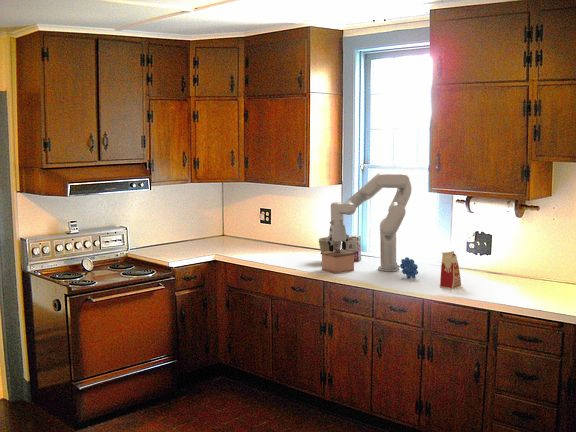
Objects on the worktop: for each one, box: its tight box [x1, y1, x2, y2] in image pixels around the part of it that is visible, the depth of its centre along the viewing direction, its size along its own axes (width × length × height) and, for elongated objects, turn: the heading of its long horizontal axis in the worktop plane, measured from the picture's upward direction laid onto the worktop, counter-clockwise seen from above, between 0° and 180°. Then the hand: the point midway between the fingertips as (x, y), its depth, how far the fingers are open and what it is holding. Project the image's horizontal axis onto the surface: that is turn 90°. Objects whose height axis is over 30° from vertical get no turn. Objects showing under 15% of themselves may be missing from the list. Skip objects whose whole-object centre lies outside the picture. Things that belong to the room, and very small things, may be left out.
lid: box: [320, 244, 355, 258], centre depth 399 cm, size 15×15×7 cm
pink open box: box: [321, 254, 355, 275], centre depth 400 cm, size 14×14×10 cm
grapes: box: [399, 256, 419, 279], centre depth 373 cm, size 12×7×12 cm, turn 49°
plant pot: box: [318, 236, 342, 253], centre depth 421 cm, size 15×15×16 cm
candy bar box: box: [345, 234, 362, 262], centre depth 428 cm, size 11×5×16 cm, turn 62°
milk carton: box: [439, 250, 462, 291], centre depth 350 cm, size 9×9×20 cm
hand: (337, 250), depth 399 cm, fingers open, 9 cm apart
